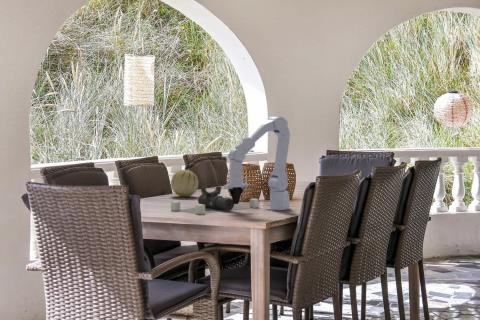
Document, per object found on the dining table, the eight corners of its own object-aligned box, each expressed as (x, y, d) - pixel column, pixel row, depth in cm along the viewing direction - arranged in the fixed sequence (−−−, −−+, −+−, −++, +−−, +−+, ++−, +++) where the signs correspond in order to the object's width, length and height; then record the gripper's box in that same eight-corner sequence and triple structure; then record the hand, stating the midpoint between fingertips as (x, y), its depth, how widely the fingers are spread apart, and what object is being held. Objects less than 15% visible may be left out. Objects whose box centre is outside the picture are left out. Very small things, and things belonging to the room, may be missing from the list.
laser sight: (220, 211, 377) (220, 190, 376) (193, 206, 395) (193, 186, 394) (237, 210, 383) (237, 189, 382) (210, 205, 401) (210, 185, 400)
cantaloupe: (166, 197, 436) (167, 169, 435) (176, 194, 450) (177, 167, 449) (192, 198, 432) (193, 170, 431) (202, 196, 446) (202, 168, 445)
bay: (229, 204, 410) (229, 195, 410) (258, 207, 397) (258, 199, 397) (171, 210, 380) (171, 201, 380) (200, 214, 368) (200, 205, 367)
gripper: (240, 173, 387) (239, 202, 388) (219, 174, 377) (218, 204, 377) (251, 174, 383) (251, 203, 383) (230, 175, 372) (230, 205, 373)
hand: (235, 203), depth 380 cm, fingers closed
